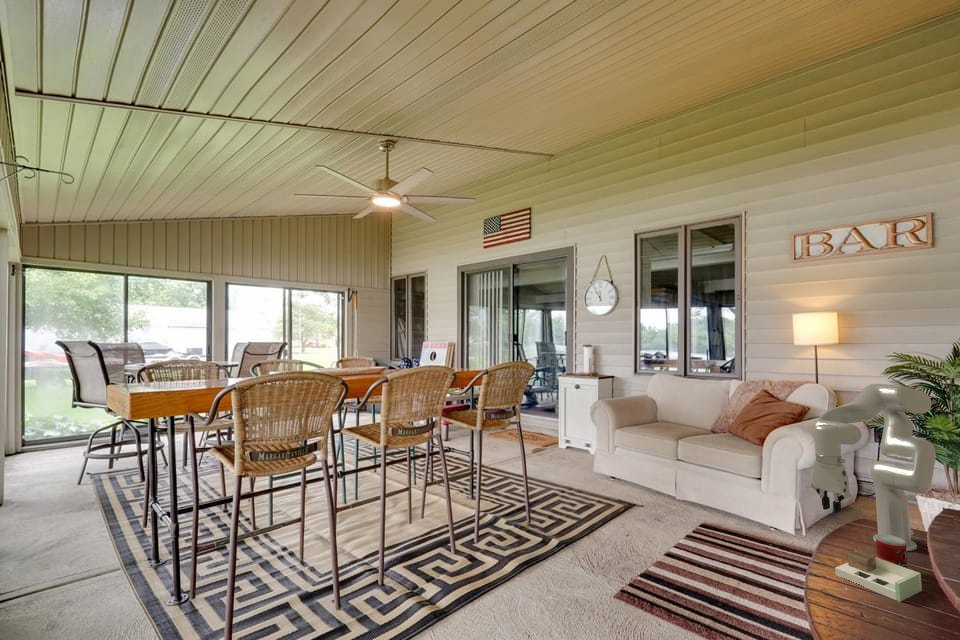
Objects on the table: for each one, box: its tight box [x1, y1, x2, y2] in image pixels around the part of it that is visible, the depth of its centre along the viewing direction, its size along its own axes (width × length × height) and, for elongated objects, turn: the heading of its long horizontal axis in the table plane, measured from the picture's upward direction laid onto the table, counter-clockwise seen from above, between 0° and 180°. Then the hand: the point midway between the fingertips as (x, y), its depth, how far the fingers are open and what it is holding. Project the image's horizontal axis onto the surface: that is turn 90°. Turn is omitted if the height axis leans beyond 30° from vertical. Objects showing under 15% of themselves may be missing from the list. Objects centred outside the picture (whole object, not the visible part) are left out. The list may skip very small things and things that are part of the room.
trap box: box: [834, 556, 923, 603], centre depth 154 cm, size 13×18×6 cm
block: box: [847, 550, 876, 573], centre depth 159 cm, size 6×6×4 cm
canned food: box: [875, 534, 909, 569], centre depth 161 cm, size 8×8×11 cm
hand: (831, 510), depth 167 cm, fingers open, 2 cm apart
